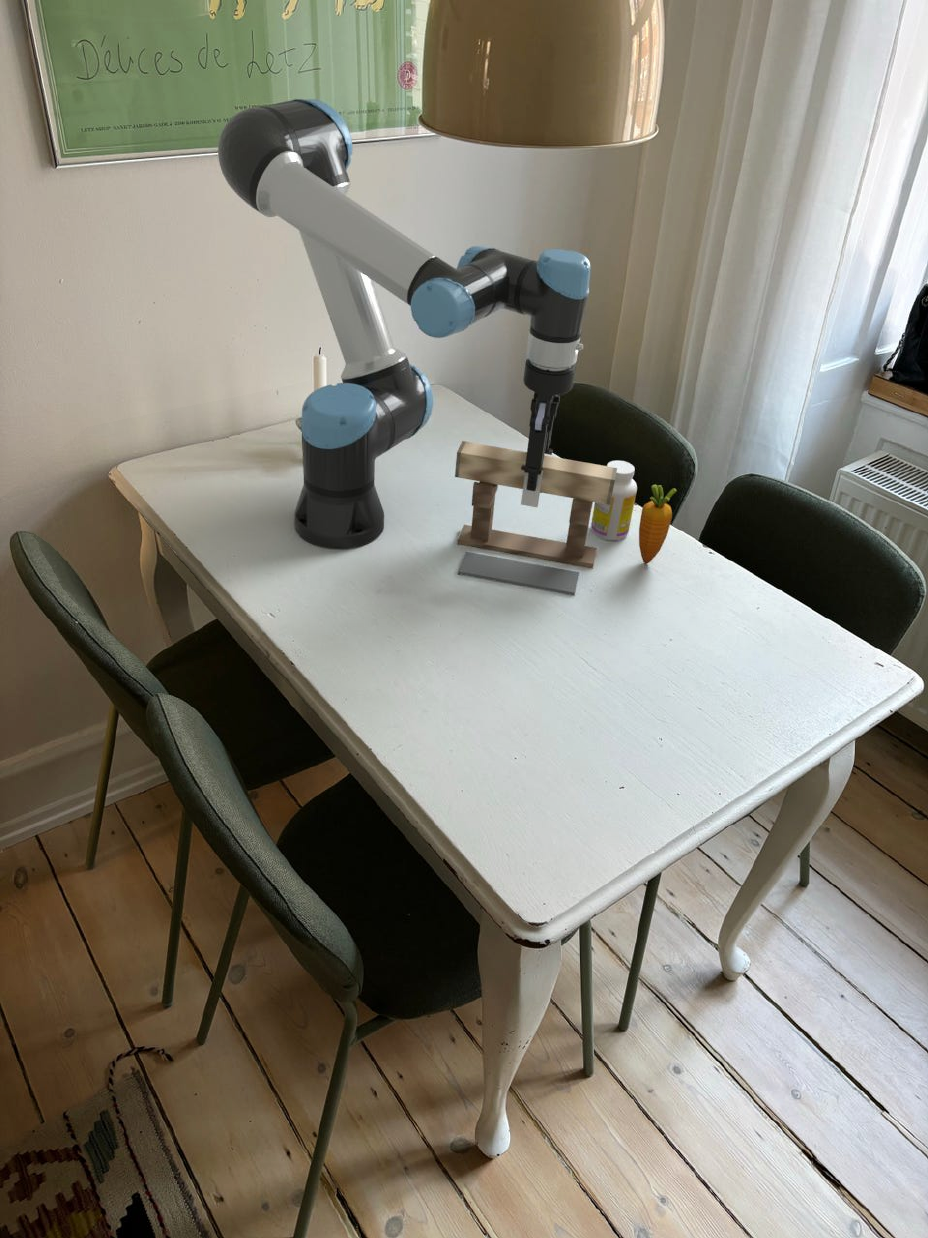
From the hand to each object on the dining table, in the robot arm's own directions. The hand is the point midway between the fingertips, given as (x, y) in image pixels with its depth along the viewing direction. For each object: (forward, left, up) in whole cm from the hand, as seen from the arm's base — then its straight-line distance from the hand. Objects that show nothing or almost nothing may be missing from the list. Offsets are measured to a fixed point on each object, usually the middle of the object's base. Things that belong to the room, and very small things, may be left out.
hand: (531, 497), depth 158 cm
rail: (0, 0, +2) cm, 2 cm away
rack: (0, 0, -10) cm, 10 cm away
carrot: (+20, +2, -10) cm, 23 cm away
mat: (0, -8, -10) cm, 13 cm away
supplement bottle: (+13, +10, -10) cm, 19 cm away
